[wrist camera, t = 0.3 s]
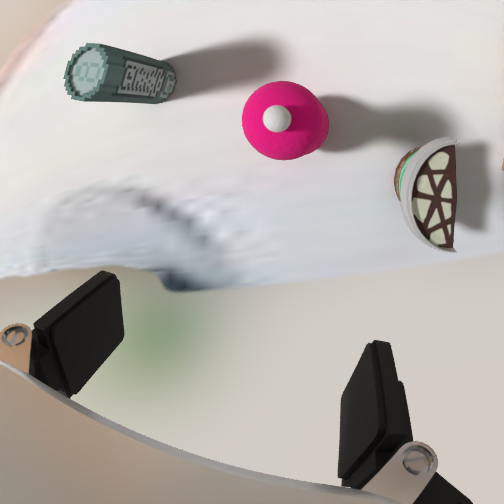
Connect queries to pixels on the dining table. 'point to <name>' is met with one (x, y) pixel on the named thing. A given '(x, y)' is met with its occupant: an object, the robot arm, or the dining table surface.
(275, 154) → the pepper mill
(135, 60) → the dark green cylinder
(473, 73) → the dining table surface
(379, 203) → the dining table surface
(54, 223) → the dining table surface
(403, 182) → the food container
